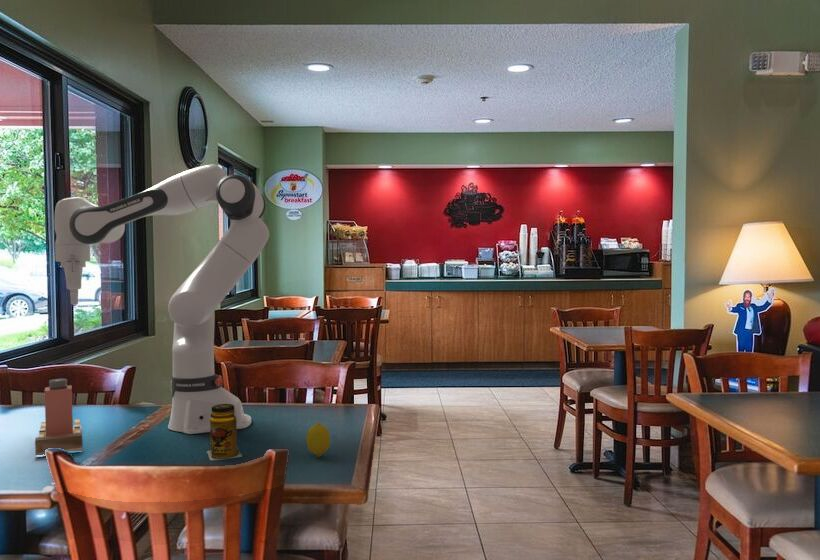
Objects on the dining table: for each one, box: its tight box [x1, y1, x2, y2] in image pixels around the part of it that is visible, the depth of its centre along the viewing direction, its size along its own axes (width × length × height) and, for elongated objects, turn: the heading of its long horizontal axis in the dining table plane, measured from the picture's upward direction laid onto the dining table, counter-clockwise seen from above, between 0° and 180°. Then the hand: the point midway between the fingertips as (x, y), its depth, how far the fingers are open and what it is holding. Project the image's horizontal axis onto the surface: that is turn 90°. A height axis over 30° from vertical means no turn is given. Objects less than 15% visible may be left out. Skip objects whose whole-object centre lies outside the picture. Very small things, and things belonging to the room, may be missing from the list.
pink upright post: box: [44, 378, 74, 436], centre depth 173 cm, size 5×6×15 cm
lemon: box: [306, 422, 331, 458], centre depth 161 cm, size 6×6×8 cm
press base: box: [34, 418, 83, 456], centre depth 175 cm, size 24×10×4 cm, turn 26°
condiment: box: [206, 404, 243, 462], centre depth 163 cm, size 7×8×12 cm
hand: (74, 304), depth 193 cm, fingers closed
